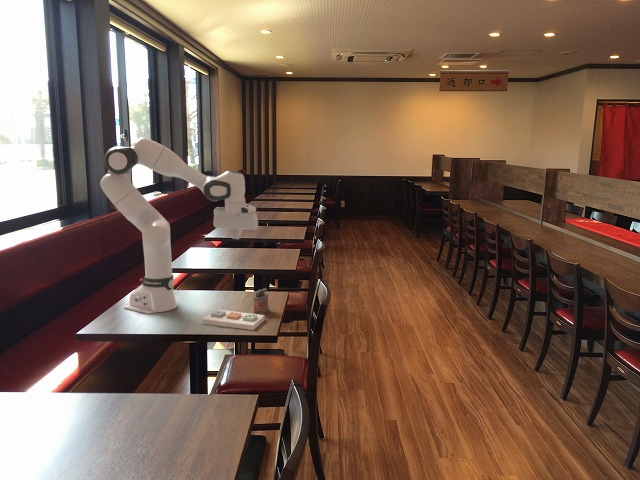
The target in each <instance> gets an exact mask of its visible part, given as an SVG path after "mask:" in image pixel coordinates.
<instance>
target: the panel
mask: <svg viewBox="0 0 640 480" xmlns="http://www.w3.org/2000/svg"><path fill="white" fill-rule="evenodd" d="M215 310H219V311H226V315H224V316H223V317H222V318H218V317H211V313H212V312H214V311H215ZM215 310H213V311H212V312H210V313H209V314H207V315H206V316H204V317H203V318H202V322H201V323H202V324H203V325H208V326H209V325H211V326H217V327H218V326H219V327H223V328H224V327H225V328H234V329H240V330H249V331H254V330H255V329H257V327H259V326H260V325H261V324H262V323H263V322H264V321H265V320H266V316H265V314H260V315H259V314H254V313H249V312H240V311H234V310H233V311H232V310H226V309H225V310H224V309H223V310H222V309H215ZM231 312H236V313H241V317H240V318H239V319H237V320H234V319H227V315H228V314H229V313H231ZM246 314H253V315H257V319H256V320H255V321H254V322H250V321H243V317H244V316H245V315H246Z"/></svg>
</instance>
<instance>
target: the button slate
mask: <svg viewBox="0 0 640 480" xmlns="http://www.w3.org/2000/svg"><path fill="white" fill-rule="evenodd" d="M219 310H220V309H217V310H216V309H214V310H213V311H214V312H213V311H212V312H210V313H211V317H218V318H222V317H223V316H224V315H226V311H227V310H225V311H219Z"/></svg>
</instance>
